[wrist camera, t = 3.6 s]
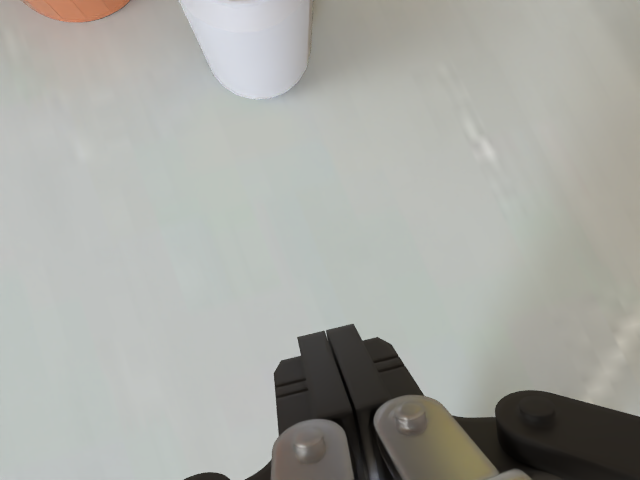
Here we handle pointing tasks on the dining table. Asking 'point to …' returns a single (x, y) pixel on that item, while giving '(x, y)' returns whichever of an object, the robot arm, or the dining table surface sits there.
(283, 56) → the can
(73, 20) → the pot
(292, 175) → the dining table surface
